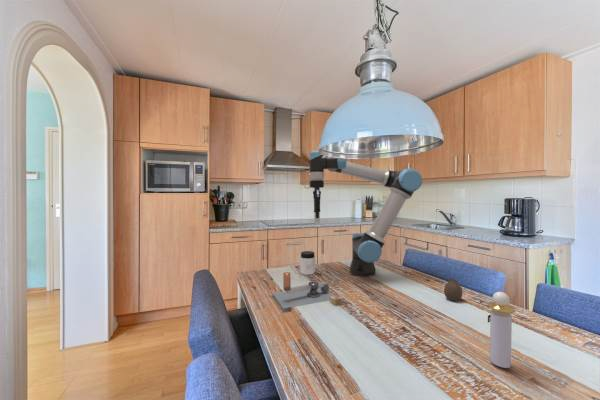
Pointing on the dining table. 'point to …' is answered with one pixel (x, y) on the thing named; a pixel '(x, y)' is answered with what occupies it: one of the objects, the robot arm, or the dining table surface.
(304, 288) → the lever
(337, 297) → the block
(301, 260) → the jar
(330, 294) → the base
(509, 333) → the perfume bottle
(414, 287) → the dining table surface
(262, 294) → the dining table surface
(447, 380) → the dining table surface
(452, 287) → the brown egg shape
